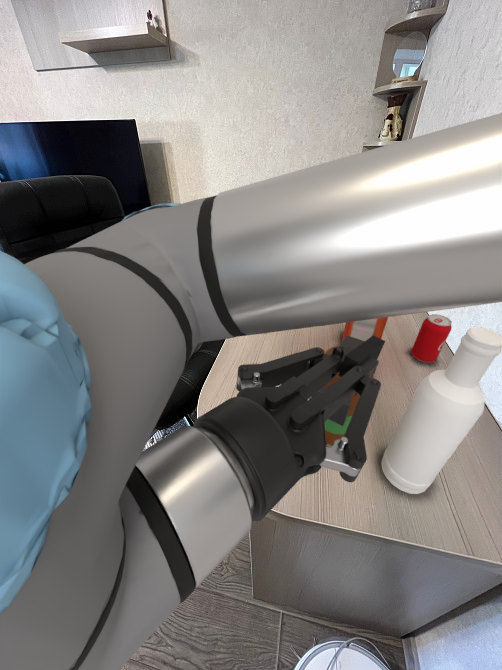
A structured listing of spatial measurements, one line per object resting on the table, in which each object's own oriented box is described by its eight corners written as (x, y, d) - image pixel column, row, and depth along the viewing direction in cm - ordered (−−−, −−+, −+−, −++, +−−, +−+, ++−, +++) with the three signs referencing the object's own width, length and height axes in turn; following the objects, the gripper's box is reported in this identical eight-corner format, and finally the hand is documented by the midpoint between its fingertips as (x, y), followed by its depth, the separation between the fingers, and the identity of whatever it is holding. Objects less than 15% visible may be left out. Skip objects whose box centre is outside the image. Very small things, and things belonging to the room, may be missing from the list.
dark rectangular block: (312, 404, 49) (316, 384, 46) (345, 420, 46) (352, 400, 43) (308, 409, 48) (312, 389, 45) (342, 426, 45) (349, 405, 42)
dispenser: (320, 404, 62) (338, 321, 49) (359, 422, 58) (389, 337, 45) (301, 434, 56) (315, 348, 43) (342, 457, 52) (372, 369, 39)
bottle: (401, 501, 45) (493, 362, 28) (371, 457, 52) (431, 322, 34) (440, 487, 47) (549, 348, 30) (406, 446, 53) (481, 312, 36)
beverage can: (440, 359, 74) (459, 322, 68) (426, 367, 72) (445, 329, 65) (418, 347, 79) (434, 310, 72) (405, 354, 76) (420, 317, 69)
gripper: (169, 442, 24) (321, 347, 39) (284, 588, 16) (418, 402, 31) (163, 376, 20) (336, 298, 34) (312, 532, 12) (451, 348, 27)
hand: (375, 347), depth 33 cm, fingers closed
